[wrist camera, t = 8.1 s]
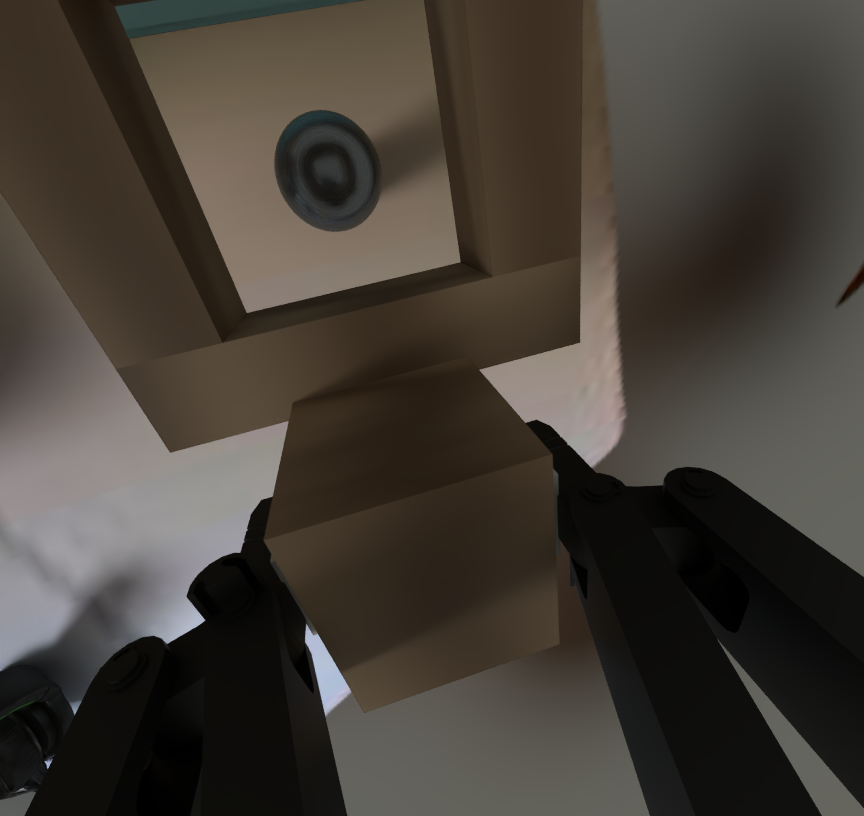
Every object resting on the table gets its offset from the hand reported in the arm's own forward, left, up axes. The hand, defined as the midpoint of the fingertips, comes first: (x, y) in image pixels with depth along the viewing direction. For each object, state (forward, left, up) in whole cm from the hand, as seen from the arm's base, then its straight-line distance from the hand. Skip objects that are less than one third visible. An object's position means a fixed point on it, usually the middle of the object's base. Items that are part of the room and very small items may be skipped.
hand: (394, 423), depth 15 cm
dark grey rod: (0, +8, -17) cm, 19 cm away
